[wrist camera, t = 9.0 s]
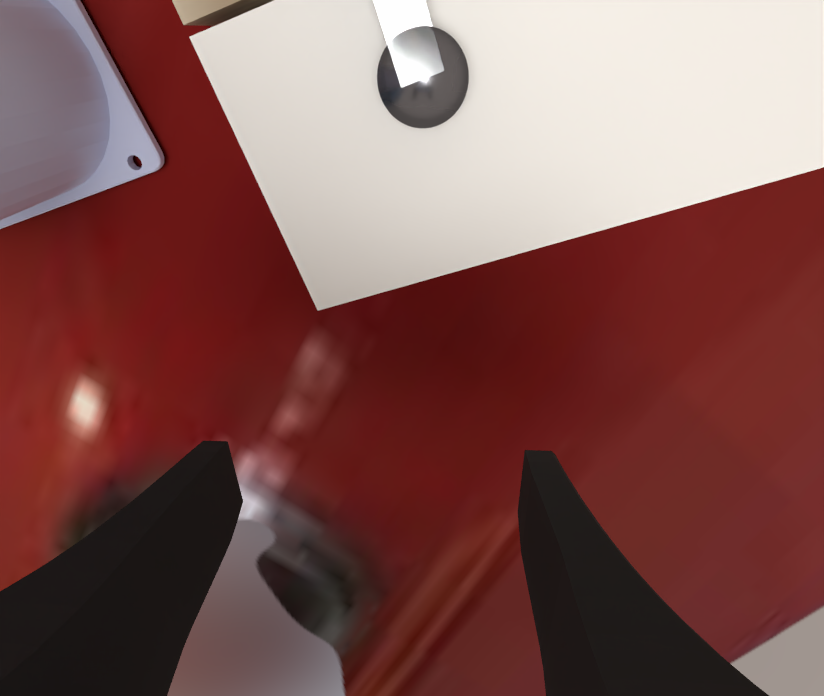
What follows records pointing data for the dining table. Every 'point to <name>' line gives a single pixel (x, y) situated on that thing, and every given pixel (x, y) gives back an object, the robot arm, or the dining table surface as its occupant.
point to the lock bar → (419, 66)
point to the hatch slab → (213, 10)
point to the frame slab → (511, 125)
